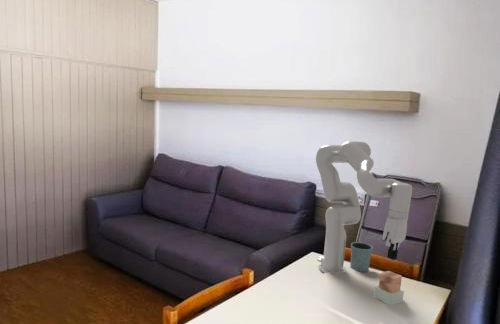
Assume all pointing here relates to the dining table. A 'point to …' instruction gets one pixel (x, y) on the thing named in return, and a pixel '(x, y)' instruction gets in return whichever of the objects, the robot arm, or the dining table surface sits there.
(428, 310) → the dining table surface
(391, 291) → the top block
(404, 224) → the robot arm
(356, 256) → the teal cup
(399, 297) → the base block
